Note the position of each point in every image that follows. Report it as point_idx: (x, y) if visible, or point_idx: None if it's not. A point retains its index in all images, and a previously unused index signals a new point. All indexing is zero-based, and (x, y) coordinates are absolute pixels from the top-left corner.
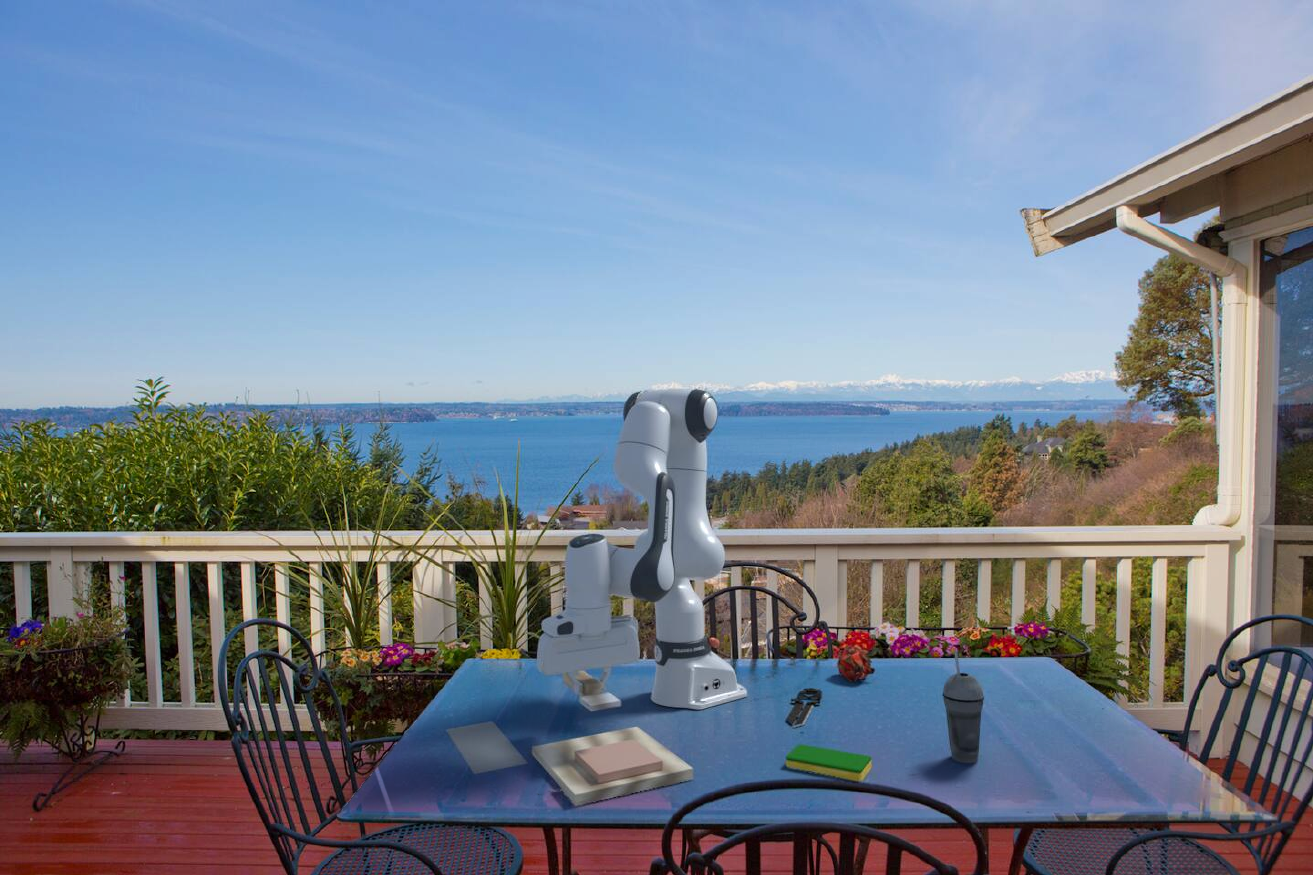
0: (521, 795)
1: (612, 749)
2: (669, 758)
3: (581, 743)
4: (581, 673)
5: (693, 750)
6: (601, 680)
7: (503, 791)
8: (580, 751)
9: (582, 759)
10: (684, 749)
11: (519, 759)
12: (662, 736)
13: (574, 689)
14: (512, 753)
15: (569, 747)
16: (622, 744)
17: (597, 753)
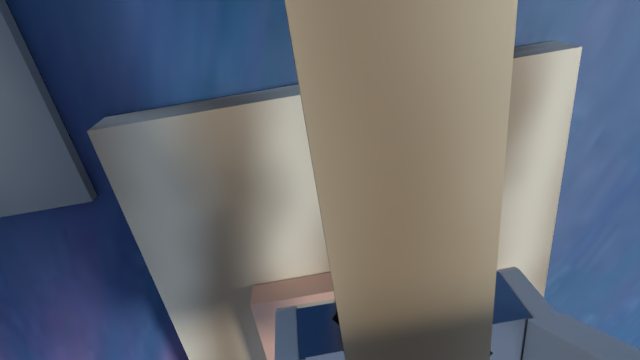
0: (98, 356)
1: None
2: None
3: (300, 161)
4: (439, 88)
5: (629, 223)
6: (523, 350)
7: (42, 329)
8: (270, 312)
9: (267, 358)
10: (613, 209)
11: (52, 158)
12: (632, 76)
13: (276, 322)
14: (7, 87)
15: (247, 186)
16: None
17: None
